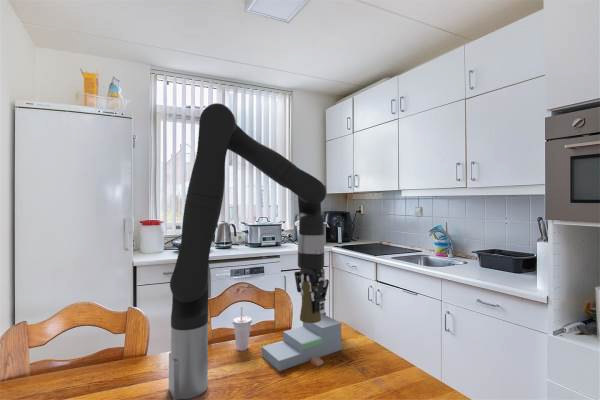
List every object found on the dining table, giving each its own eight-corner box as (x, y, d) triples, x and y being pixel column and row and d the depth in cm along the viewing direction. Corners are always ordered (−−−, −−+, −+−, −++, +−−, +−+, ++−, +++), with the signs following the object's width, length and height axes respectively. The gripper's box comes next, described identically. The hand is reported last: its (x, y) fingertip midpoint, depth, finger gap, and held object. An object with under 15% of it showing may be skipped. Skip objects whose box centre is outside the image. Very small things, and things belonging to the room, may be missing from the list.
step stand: (279, 371, 91) (279, 340, 91) (261, 355, 101) (261, 327, 101) (341, 350, 105) (341, 323, 105) (321, 338, 114) (321, 313, 114)
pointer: (316, 366, 94) (316, 363, 94) (308, 360, 98) (308, 357, 98) (323, 364, 96) (323, 360, 96) (314, 358, 99) (314, 355, 99)
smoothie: (228, 351, 104) (229, 308, 104) (238, 342, 110) (238, 302, 110) (246, 353, 102) (246, 310, 102) (254, 345, 108) (255, 304, 108)
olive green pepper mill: (321, 315, 92) (321, 277, 92) (320, 323, 86) (321, 283, 86) (300, 314, 92) (301, 277, 92) (298, 322, 86) (299, 282, 86)
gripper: (286, 248, 93) (285, 306, 93) (315, 255, 81) (314, 322, 81) (307, 246, 97) (306, 302, 97) (337, 252, 85) (337, 316, 85)
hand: (310, 311), depth 89 cm, fingers closed on olive green pepper mill, 4 cm apart
